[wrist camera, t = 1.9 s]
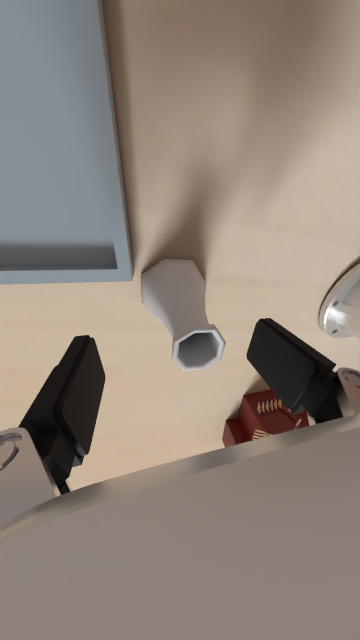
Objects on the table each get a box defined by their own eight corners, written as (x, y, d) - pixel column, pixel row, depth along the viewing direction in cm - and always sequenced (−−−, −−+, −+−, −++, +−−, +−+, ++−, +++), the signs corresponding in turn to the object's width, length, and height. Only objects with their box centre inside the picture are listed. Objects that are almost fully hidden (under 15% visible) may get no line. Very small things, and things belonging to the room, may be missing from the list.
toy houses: (220, 443, 40) (241, 502, 31) (230, 391, 30) (265, 458, 21) (369, 407, 46) (420, 449, 37) (421, 353, 35) (509, 394, 27)
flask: (128, 268, 16) (107, 317, 7) (199, 247, 16) (260, 270, 7) (152, 327, 19) (157, 405, 11) (209, 309, 20) (257, 372, 11)
